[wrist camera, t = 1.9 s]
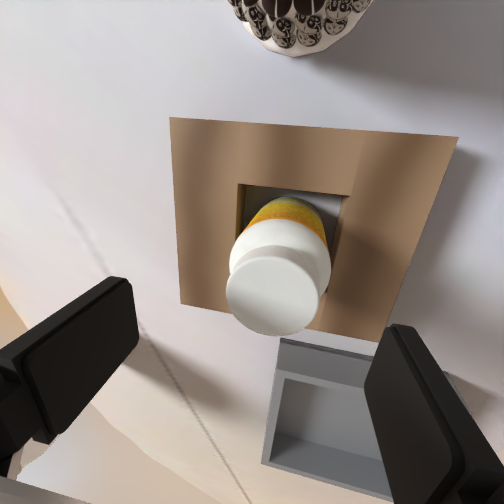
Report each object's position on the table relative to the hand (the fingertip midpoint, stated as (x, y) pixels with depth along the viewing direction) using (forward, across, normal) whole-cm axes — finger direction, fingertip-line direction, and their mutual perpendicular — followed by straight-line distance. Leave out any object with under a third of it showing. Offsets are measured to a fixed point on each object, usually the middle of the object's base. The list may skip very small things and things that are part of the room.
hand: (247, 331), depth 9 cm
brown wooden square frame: (+11, -1, 0) cm, 11 cm away
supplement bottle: (+11, -1, -1) cm, 11 cm away
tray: (+11, -9, +18) cm, 23 cm away
